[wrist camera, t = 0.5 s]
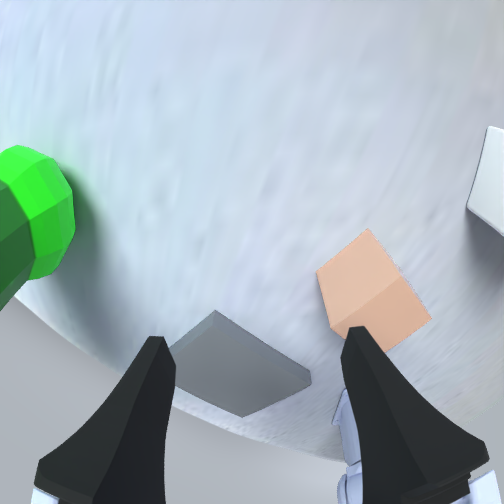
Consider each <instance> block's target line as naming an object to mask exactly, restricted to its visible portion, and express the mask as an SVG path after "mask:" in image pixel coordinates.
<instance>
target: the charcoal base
mask: <svg viewBox="0 0 504 504" xmlns="http://www.w3.org/2000/svg"><path fill="white" fill-rule="evenodd" d="M169 350H170V353H171V355H172V357H173V359H174V362H175V364H176V378H175V386H177V387H179V388H181V389H182V390H184V391H186V392H188V393H190V394H192V395H194V396H196V397H198V398H200V399H202V400H204V401H206V402H208V403H211V404H213V405H215V406H217V407H219V408H221V409H224V410H226V411H228V412H230V413H233V414H235V415H237V416H240V417H242V418H243V417H245V416H247V415H250V414H252V413H254V412H257V411H259V410H261V409H263V408H266V407H268V406H270V405H272V404H274V403H276V402H278V401H281V400H283V399H285V398H287V397H289V396H291V395H293V394H295V393H297V392H299V391H301V390H302V389H304V388H306V387H308V386H310V385H311V378H310V371H309V370H308V369H306V368H304V367H303V366H301V365H299V364H298V363H296V362H294V361H293V360H291V359H289V358H288V357H286V356H285V355H283V354H281V353H280V352H278V351H277V350H275V349H273V348H272V347H270V346H269V345H267V344H266V343H264V342H262V341H261V340H259V339H258V338H256V337H255V336H253V335H252V334H250V333H249V332H247V331H246V330H244V329H243V328H241V327H240V326H238V325H237V324H235V323H234V322H232V321H231V320H229V319H228V318H226V317H225V316H223V315H222V314H220V313H219V312H218V311H216V310H215V311H213V312H212V313H211V314H210V315H209V316H208V317H206V318H205V319H204V320H203V321H202V322H200V323H199V324H198V325H197V326H196V327H194V328H193V329H192V330H191V331H189V332H188V333H187V334H186V335H185V336H183V337H182V338H181V339H180V340H179V341H177V342H176V343H175V344H174V345H172V346H171V347H170V348H169Z"/></svg>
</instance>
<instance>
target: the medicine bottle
mask: <svg viewBox="0 0 504 504" xmlns="http://www.w3.org/2000/svg"><path fill="white" fill-rule="evenodd" d="M467 208H468V209H469V210H470V211H472V212H473V213H474V214H476V215H477V216H478V217H480V218H481V219H482V220H484V221H485V222H486V223H487V224H489V225H490V226H491V227H493V228H494V229H495V230H496V231H498V232H499V233H500V234H501V235H502V236H504V130H503V129H499V128H496V127H493V126H489V127H488V128H487V133H486V138H485V142H484V147H483V151H482V155H481V159H480V163H479V167H478V170H477V174H476V177H475V181H474V184H473V187H472V190H471V194H470V197H469V200H468V203H467Z"/></svg>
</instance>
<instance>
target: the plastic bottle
mask: <svg viewBox="0 0 504 504" xmlns="http://www.w3.org/2000/svg"><path fill="white" fill-rule="evenodd" d="M75 230H76V227H75V218H74V207H73V195H72V189H71V188H70V186H69V184H68V182H67V181H66V179H65V177H64V176H63V174H62V172H61V170H60V169H59V167H58V165H57V163H56V162H55V161H54V159H52V158H50V157H48V156H46V155H44V154H41V153H39V152H37V151H35V150H33V149H31V148H28V147H24V146H20V145H16V146H13V147H11V148H8V149H6V150H4V151H3V152H1V153H0V311H1V310H2V309H3V307H4V306H5V305H6V304H7V303H8V301H9V300H10V299H11V298H12V297H13V296H14V295H15V293H16V292H17V291H18V290H19V289H20V288H21V287H22V286H23V284H24V283H25V282H26V281H27V280H33V279H39V278H42V277H44V276H47V275H50V274H52V272H53V271H54V270H55V269H56V268H57V267H58V266H59V264H60V262H61V260H62V258H63V256H64V254H65V252H66V250H67V248H68V247H69V245H70V243H71V241H72V239H73V236H74V233H75Z"/></svg>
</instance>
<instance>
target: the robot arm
mask: <svg viewBox="0 0 504 504" xmlns="http://www.w3.org/2000/svg"><path fill="white" fill-rule="evenodd" d="M340 358H341V364H342V371H343V377H344V382H345V386H346V389H345V390H344V391H343V393H342V396H341V399H340V402H339V405H338V408H337V410H336V413H335V416H334V419H333V421H332V425H340V432H341V438H342V445H343V452H344V458H345V461H346V463H347V464H348V465H349V467H347V468H346V471H347V474H344V475H343V476H342V477H341V479H340V481H339V483H338V487H337V498H338V504H502V503H501V498H500V493H499V489H498V485H497V480H496V476H495V472H494V470H491V471H489V472H487V473H485V474H483V475H482V476H480V477H478V478H476V479H474V480H471V481H469V482H468V479H469V478H470V477H471V475H470V472H471V471H473V470H475V469H477V468H478V467H480V466H482V465H483V464H485V463H486V462H488V461H489V455H488V452H487V448H486V446H485V443H484V441H482V440H480V439H478V438H476V437H475V436H473V435H471V434H469V433H467V432H466V431H464V430H463V429H462V428H460V427H459V426H457V425H456V424H454V423H453V422H452V421H450V420H449V419H448V418H447V417H445V416H444V415H443V414H442V413H440V412H439V411H438V410H437V409H435V408H434V407H433V406H432V405H431V404H430V403H429V402H428V401H427V400H426V399H425V398H424V397H422V396H421V395H420V394H419V393H418V392H417V391H416V389H415V388H414V387H413V386H412V385H411V384H410V383H409V382H408V381H407V380H406V379H405V377H404V376H403V375H402V374H401V373H400V372H399V370H398V369H397V368H396V367H395V365H394V364H393V363H392V362H391V360H390V359H389V358H388V357H387V355H386V354H385V353H384V352H383V350H382V349H381V348H380V346H379V345H378V344H377V342H376V341H375V340H374V338H373V337H372V335H371V334H370V333H369V331H368V330H367V329H366V327H365V326H357V327H349V330H348V334H347V337H346V341H345V344H344V348H343V351H342V354H341V357H340ZM175 378H176V364H175V362H174V359H173V357H172V355H171V353H170V350H169V348H168V346H167V343H166V341H165V339H164V337H159V336H149V337H148V338H147V340H146V342H145V343H144V345H143V346H142V348H141V350H140V351H139V353H138V354H137V356H136V357H135V359H134V360H133V362H132V364H131V365H130V367H129V368H128V370H127V371H126V373H125V374H124V375H123V377H122V378H121V380H120V382H119V383H118V384H117V385H116V387H115V388H114V389H113V391H112V392H111V394H110V395H109V396H108V398H107V399H106V400H105V402H104V403H103V404H102V405H101V406H100V407H99V409H98V410H97V411H96V412H95V413H94V414H93V415H92V416H91V418H90V419H89V420H88V421H87V422H86V423H85V424H84V425H83V426H82V427H81V428H80V429H79V430H78V431H77V432H76V433H74V434H73V435H72V436H71V437H70V438H68V439H67V440H66V441H65V442H64V443H63V444H61V445H60V446H59V447H57V448H56V449H55V450H53V451H52V452H50V453H49V454H47V455H46V456H44V457H43V458H42V459H40V460H39V463H38V467H37V472H36V476H35V481H34V485H35V486H36V487H38V488H39V489H41V490H43V491H45V492H47V493H49V494H51V495H49V494H47V493H45V492H43V491H40V490H38V489H36V488H34V490H33V495H32V500H31V504H166V501H165V486H164V454H165V439H166V432H167V426H168V421H169V415H170V410H171V405H172V400H173V394H174V389H175ZM52 495H53V496H52Z"/></svg>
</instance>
